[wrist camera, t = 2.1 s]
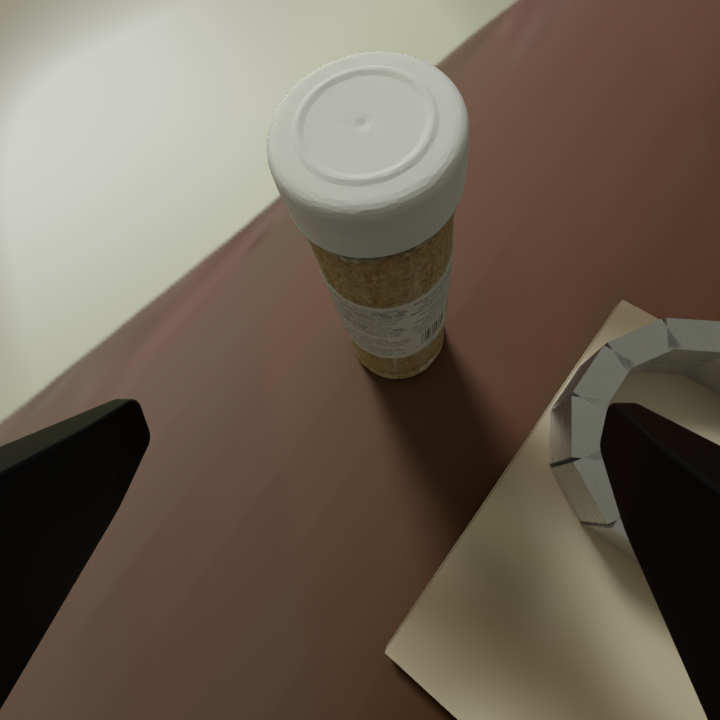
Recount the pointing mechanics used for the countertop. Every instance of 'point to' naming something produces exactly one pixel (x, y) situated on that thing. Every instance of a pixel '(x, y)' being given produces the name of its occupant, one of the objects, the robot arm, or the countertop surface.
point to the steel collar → (589, 406)
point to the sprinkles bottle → (377, 196)
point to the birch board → (553, 591)
